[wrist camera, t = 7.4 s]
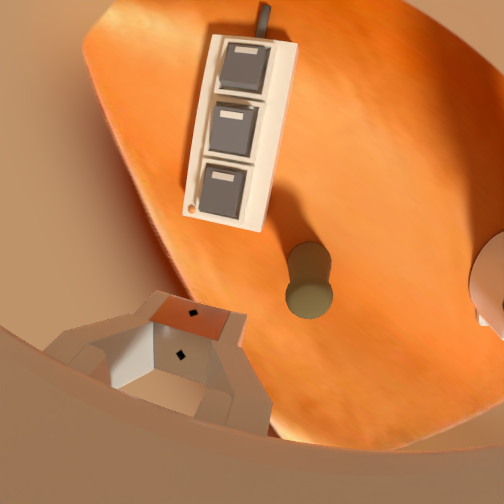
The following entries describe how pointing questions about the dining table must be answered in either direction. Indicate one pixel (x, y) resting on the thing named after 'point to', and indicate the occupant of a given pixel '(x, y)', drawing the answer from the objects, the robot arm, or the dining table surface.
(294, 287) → the cork
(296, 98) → the dining table surface
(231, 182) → the rocker
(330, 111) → the dining table surface
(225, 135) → the rocker
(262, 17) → the switch strip
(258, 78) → the rocker
